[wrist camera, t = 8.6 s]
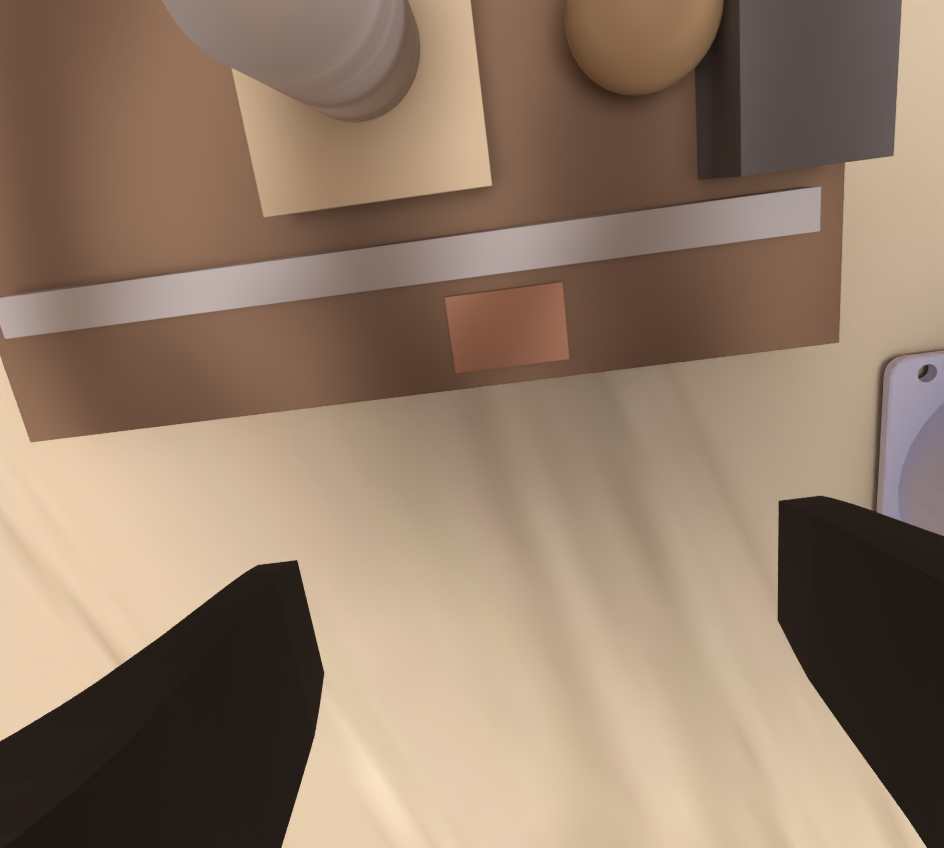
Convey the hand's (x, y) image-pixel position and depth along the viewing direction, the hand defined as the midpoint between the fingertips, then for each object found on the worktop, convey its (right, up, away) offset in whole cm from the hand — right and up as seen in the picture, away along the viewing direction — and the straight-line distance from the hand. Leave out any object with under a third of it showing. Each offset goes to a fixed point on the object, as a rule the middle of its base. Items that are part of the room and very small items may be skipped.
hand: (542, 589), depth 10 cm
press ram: (-3, +11, +6) cm, 13 cm away
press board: (-3, +11, +7) cm, 14 cm away
